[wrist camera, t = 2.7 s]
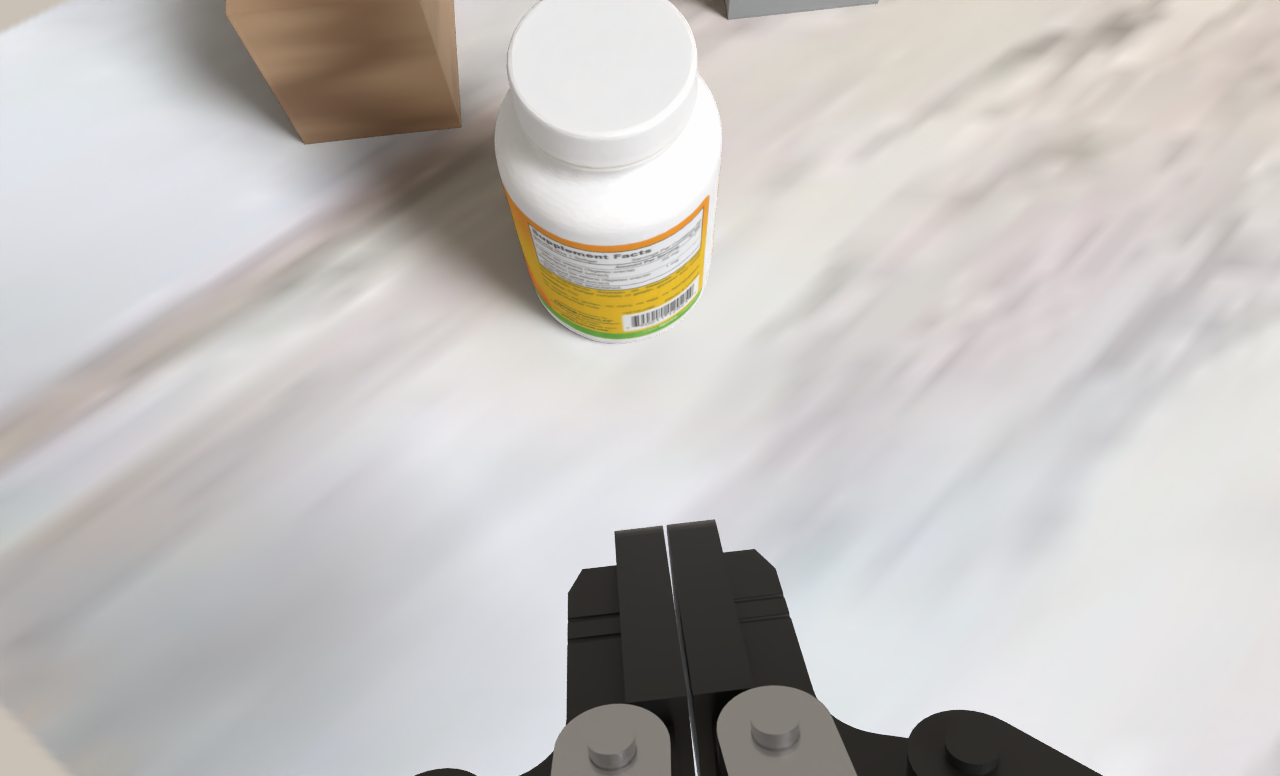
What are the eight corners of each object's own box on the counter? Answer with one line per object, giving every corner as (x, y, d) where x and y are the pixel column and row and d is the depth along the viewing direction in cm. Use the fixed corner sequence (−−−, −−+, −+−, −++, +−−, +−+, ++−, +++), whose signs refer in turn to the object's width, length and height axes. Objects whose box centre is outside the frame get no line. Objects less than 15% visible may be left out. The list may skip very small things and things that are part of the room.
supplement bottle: (568, 166, 30) (526, -77, 21) (733, 214, 30) (764, -15, 21) (504, 316, 29) (429, 124, 20) (677, 372, 28) (683, 198, 19)
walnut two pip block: (305, 145, 31) (222, 8, 25) (305, 17, 33) (227, -138, 27) (462, 127, 31) (415, -12, 25) (454, 1, 33) (408, -157, 27)
